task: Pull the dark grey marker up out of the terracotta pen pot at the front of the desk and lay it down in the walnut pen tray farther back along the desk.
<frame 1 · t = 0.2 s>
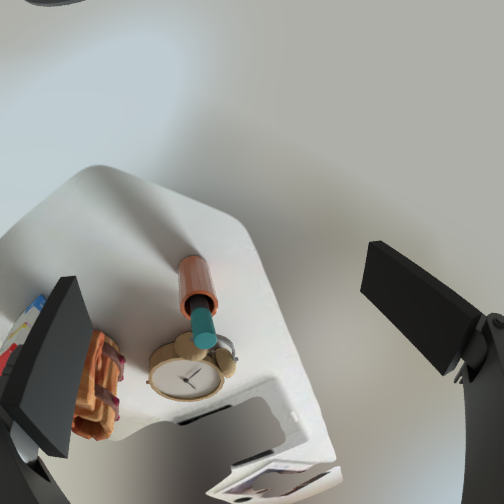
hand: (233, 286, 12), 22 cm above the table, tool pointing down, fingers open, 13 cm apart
alarm clock: (191, 357, 41), on the table
pen pot: (193, 269, 35), on the table
marker: (193, 271, 34), point 1 cm above the table, touching pen pot
mug: (101, 334, 36), on the table
ink box: (39, 318, 32), on the table
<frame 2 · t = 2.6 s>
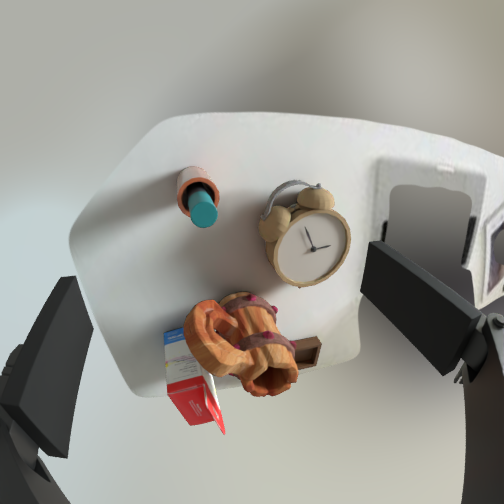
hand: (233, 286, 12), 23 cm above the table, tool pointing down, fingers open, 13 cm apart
alarm clock: (298, 228, 38), on the table
pen pot: (193, 182, 32), on the table
marker: (193, 183, 32), point 1 cm above the table, touching pen pot
mug: (227, 300, 40), on the table
pen tray: (278, 354, 47), on the table
ink box: (187, 346, 42), on the table
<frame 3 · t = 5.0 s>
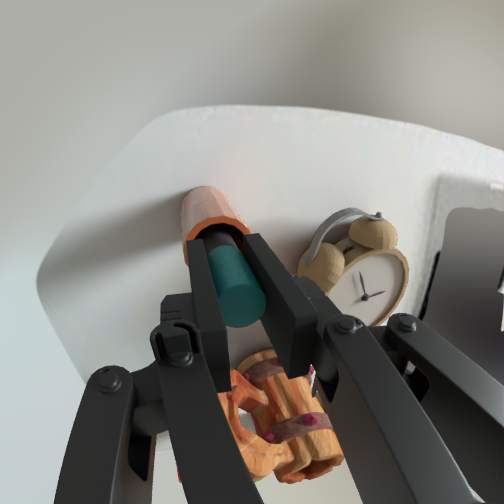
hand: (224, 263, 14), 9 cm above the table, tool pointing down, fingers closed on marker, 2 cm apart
alarm clock: (344, 268, 28), on the table
pen pot: (204, 209, 22), on the table
marker: (205, 211, 22), point 1 cm above the table, touching gripper, pen pot
mug: (248, 357, 30), on the table
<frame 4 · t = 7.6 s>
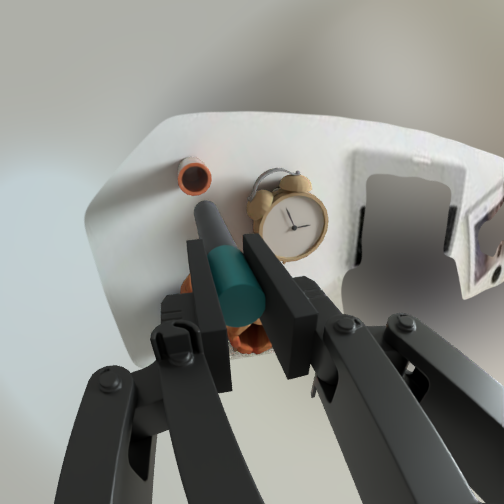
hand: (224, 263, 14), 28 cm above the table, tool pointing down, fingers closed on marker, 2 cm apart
alarm clock: (282, 210, 44), on the table
pen pot: (191, 169, 38), on the table
marker: (205, 211, 22), point 19 cm above the table, touching gripper
mug: (220, 274, 46), on the table
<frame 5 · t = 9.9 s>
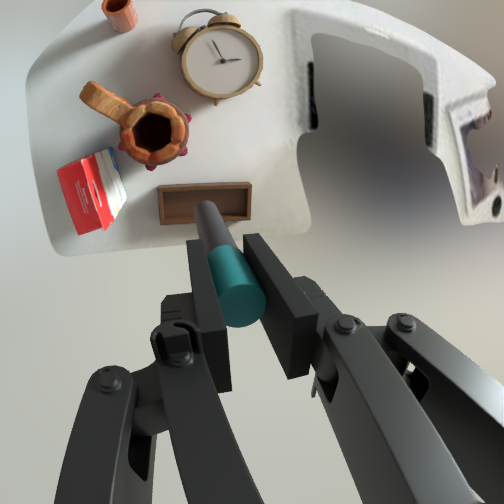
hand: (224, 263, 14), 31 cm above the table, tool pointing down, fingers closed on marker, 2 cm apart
alarm clock: (214, 55, 34), on the table
pen pot: (125, 22, 28), on the table
marker: (205, 211, 22), point 22 cm above the table, touching gripper
mug: (145, 121, 36), on the table
pen tray: (204, 200, 43), on the table
ink box: (106, 178, 38), on the table
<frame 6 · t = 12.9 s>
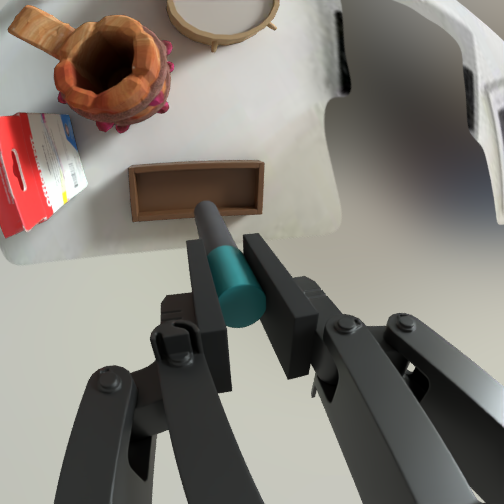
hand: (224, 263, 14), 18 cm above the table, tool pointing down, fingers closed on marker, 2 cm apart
marker: (205, 211, 22), point 9 cm above the table, touching gripper
mug: (114, 78, 23), on the table
pen tray: (196, 186, 30), on the table
ink box: (61, 158, 24), on the table
when the fingers open (9 cm above the table, at t = 14.9 s): marker stays where it is, resting on pen tray.
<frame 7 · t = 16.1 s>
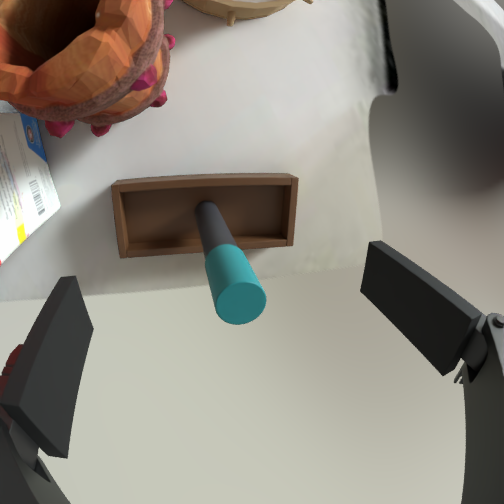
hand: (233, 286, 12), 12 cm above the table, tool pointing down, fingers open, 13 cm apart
marker: (206, 211, 22), point 1 cm above the table, touching pen tray
mug: (94, 62, 15), on the table
pen tray: (204, 209, 22), on the table
ink box: (27, 171, 17), on the table
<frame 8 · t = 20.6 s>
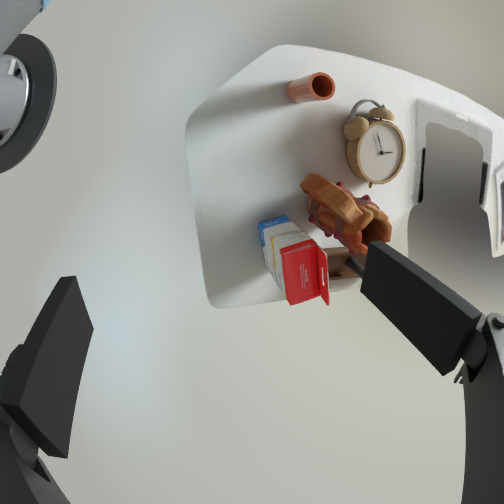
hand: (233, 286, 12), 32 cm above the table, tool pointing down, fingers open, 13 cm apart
alarm clock: (367, 140, 44), on the table
pen pot: (297, 91, 38), on the table
marker: (349, 261, 53), point 1 cm above the table, touching pen tray
mug: (314, 195, 46), on the table
pen tray: (347, 259, 53), on the table
ink box: (275, 241, 48), on the table
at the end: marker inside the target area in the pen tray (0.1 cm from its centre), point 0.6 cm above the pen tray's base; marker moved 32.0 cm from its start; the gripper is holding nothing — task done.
